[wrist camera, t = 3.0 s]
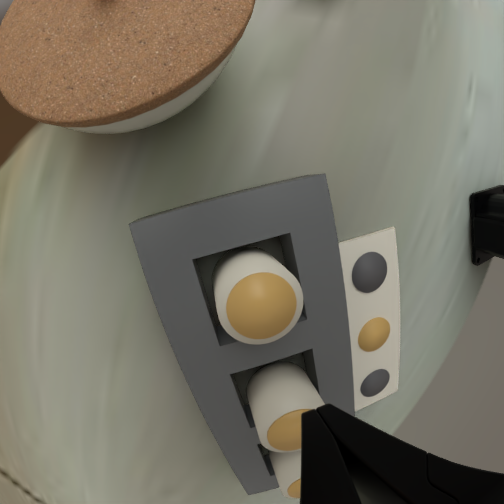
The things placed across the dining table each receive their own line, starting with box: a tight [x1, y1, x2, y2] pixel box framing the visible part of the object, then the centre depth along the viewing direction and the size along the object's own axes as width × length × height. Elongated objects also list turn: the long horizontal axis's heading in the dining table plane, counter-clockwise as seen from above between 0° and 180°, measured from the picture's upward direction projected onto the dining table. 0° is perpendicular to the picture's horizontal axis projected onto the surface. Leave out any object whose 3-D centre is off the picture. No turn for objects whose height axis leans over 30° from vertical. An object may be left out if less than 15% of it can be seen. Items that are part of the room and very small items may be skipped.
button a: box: [212, 246, 303, 345], centre depth 15 cm, size 4×4×4 cm
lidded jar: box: [0, 0, 255, 134], centre depth 9 cm, size 11×11×9 cm
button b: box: [246, 362, 325, 453], centre depth 15 cm, size 4×4×4 cm
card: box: [338, 227, 400, 411], centre depth 20 cm, size 5×15×1 cm, turn 14°
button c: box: [269, 450, 301, 499], centre depth 17 cm, size 4×4×4 cm
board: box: [129, 174, 355, 495], centre depth 18 cm, size 10×24×2 cm, turn 13°
